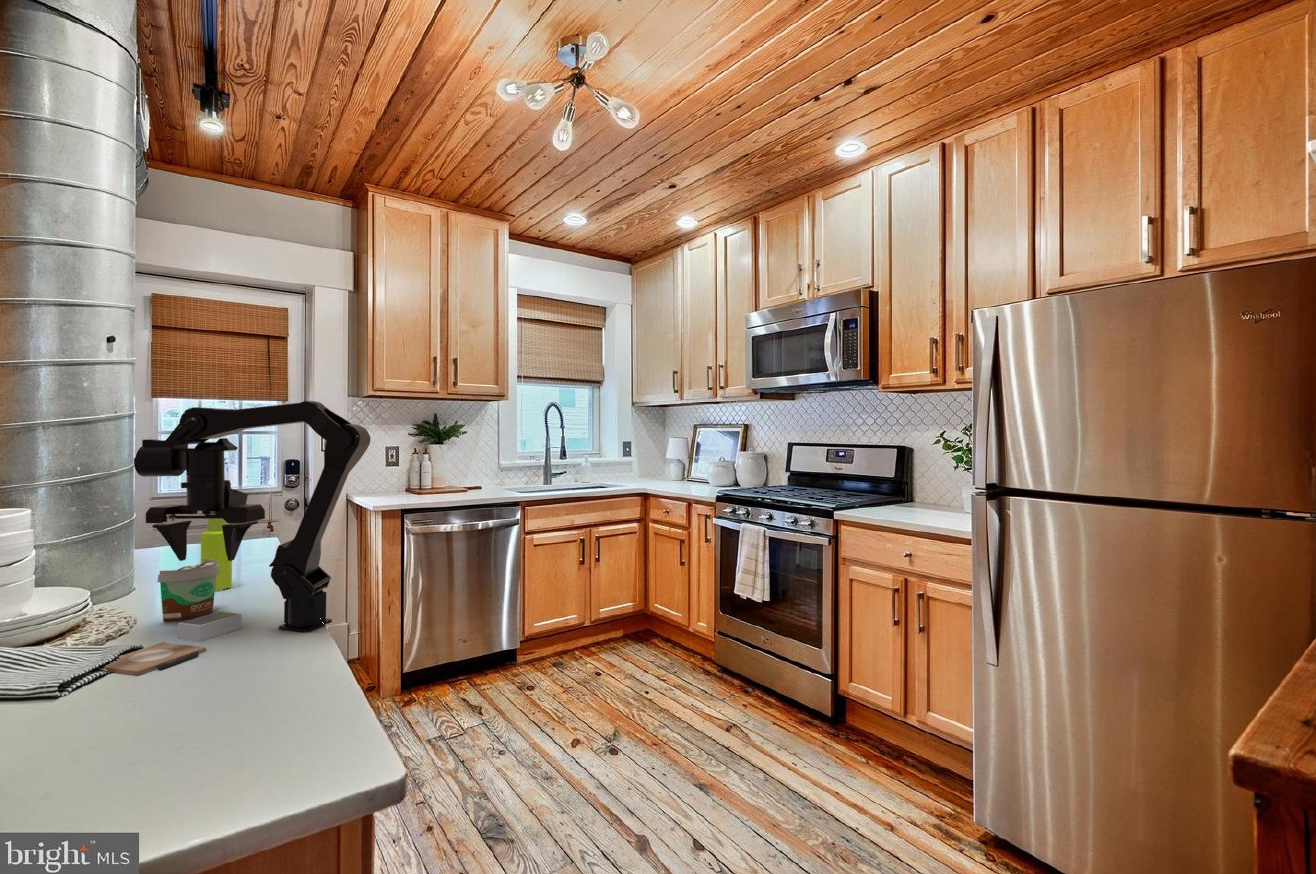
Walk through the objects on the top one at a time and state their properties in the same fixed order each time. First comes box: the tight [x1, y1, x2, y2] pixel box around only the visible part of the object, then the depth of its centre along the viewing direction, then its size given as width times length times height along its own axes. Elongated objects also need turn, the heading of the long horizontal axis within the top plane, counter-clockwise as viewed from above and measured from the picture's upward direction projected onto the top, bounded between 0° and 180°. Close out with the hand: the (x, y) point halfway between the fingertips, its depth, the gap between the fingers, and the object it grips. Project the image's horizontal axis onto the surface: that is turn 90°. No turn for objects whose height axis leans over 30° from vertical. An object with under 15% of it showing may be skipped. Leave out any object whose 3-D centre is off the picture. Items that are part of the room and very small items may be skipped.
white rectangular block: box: [177, 610, 243, 643], centre depth 114 cm, size 5×8×3 cm, turn 165°
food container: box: [157, 559, 221, 623], centre depth 124 cm, size 12×6×10 cm, turn 179°
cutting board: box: [104, 642, 207, 676], centre depth 100 cm, size 10×11×1 cm
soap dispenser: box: [200, 519, 233, 592], centre depth 144 cm, size 6×7×20 cm
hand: (206, 560), depth 116 cm, fingers open, 9 cm apart
